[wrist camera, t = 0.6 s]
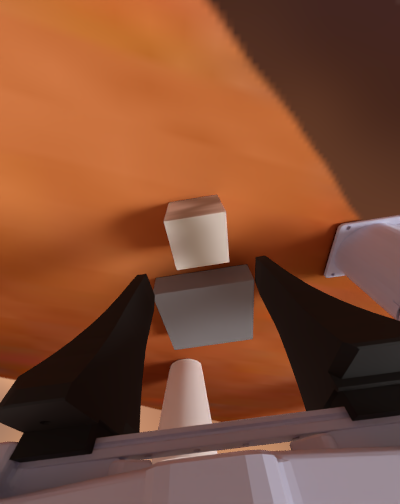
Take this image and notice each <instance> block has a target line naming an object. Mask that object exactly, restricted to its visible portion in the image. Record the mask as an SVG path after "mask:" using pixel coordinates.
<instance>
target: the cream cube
mask: <svg viewBox="0 0 400 504" xmlns="http://www.w3.org/2000/svg"><path fill="white" fill-rule="evenodd" d="M164 225H165V229H166V232H167V236H168V240H169V243H170V247H171V250H172V254H173V258H174V261H175V265H176V269H177V270H181V269H188V268H194V267H201V266H208V265H214V264H221V263H227V262H229V250H228V235H227V221H226V211H225V209H224V207H223V205H222V203H221V201H220V199H219V197H218V195H211V196H205V197H199V198H193V199H187V200H181V201H175V202H169V204H168V207H167V211H166V215H165V218H164Z"/></svg>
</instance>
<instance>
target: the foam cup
mask: <svg viewBox="0 0 400 504" xmlns="http://www.w3.org/2000/svg"><path fill="white" fill-rule="evenodd" d="M211 423H212V421H211V416H210V410H209V405H208V399H207V394H206V388H205V383H204V377H203V371H202V367H201V363H199V362H198V361H196V360H193V359H182V360H177V361H176V362H174V363H172V365H171V367H170V371H169V376H168V381H167V386H166V391H165V396H164V402H163V407H162V412H161V417H160V423H159V427H158V430H164V429H172V428H180V427H187V426H195V425H203V424H211ZM212 454H217V451H209V452H201V453H192V454H184V455H176V456H168V457H160V458H153V460H152V464H155V463H157V462H161V461H166V460H172V459H180V458H188V457H196V456H204V455H212Z"/></svg>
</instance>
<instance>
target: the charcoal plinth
mask: <svg viewBox="0 0 400 504" xmlns="http://www.w3.org/2000/svg"><path fill="white" fill-rule="evenodd" d="M153 292H154V295H155V303H156V305H157V308H158V310H159V313H160V315H161V318H162V320H163V323H164V325H165V327H166V330H167V332H168V335H169V337H170V340H171V342H172V344H173V347H174V349H175V350H177V349H184V348H191V347H198V346H206V345H213V344H220V343H227V342H234V341H242V340H249V339H253V307H254V278H253V276H252V274H251V272H250V270H249V268H248V265H247V264H246V265H239V266H233V267H226V268H220V269H213V270H206V271H200V272H193V273H187V274H180V275H173V276H167V277H160V278H156V280H155V285H154V289H153Z"/></svg>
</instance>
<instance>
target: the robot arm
mask: <svg viewBox="0 0 400 504" xmlns="http://www.w3.org/2000/svg"><path fill="white" fill-rule="evenodd" d="M343 275H346V276H347V277H348V278H349V279H351V280H352V281H353V282H354V283H355V284H356V285H357V286H358V287H360V288H361V289H362V290H363V291H364V292H365V293H366V294H368V295H369V296H370V297H371V298H372V299H373V300H374V301H375V302H377V303H378V304H379V305H380V306H381V307H382V308H383V309H385V310H386V311H387V312H388V313H389V314H390V315H391V316H392V317H394V318H395V319H396V320H395V319H392V318H388V317H385V316H382V315H379V314H376V313H373V312H370V311H367V310H364V309H362V308H359V307H356V306H354V305H351V304H349V303H346V302H344V301H341V300H339V299H337V298H334V297H332V296H330V295H328V294H326V293H324V292H322V291H320V290H318V289H316V288H314V287H312V286H310V285H308V284H307V283H305V282H303V281H302V280H300V279H298V278H297V277H295V276H293V275H292V274H290V273H289V272H287V271H286V270H284V269H283V268H282V267H280V266H279V265H277V264H276V263H275V262H273V261H272V260H271V259H269V258H268V257H266V256H260V257H256V266H255V282H256V285H257V288H258V291H259V293H260V296H261V298H262V300H263V302H264V304H265V306H266V308H267V310H268V312H269V314H270V315H271V317H272V319H273V321H274V323H275V325H276V328H277V330H278V332H279V335H280V337H281V340H282V342H283V345H284V348H285V350H286V353H287V356H288V358H289V361H290V364H291V367H292V369H293V372H294V375H295V378H296V381H297V384H298V387H299V390H300V393H301V396H302V399H303V402H304V405H305V409H306V411H305V412H297V413H289V414H282V415H274V416H266V417H258V418H250V419H242V420H235V421H227V422H219V423H211V424H203V425H195V426H187V427H180V428H172V429H164V430H156V431H148V432H141V433H139V428H140V406H141V391H142V378H143V368H144V359H145V350H146V344H147V339H148V335H149V330H150V326H151V321H152V317H153V312H154V303H155V295H154V292H153V290H152V287H151V285H150V282H149V280H148V277H147V275H146V274H142V275H137V276H136V277H135V278H134V279H133V281H132V282H131V283H130V284H129V285H128V287H127V288H126V289H125V290H124V291H123V292H122V294H121V295H120V296H119V297H118V298H117V299H116V300H115V301H114V302H113V304H112V305H111V306H110V307H109V308H108V309H107V310H106V311H105V312H104V313H103V314H102V315H101V316H100V317H99V318H98V319H97V320H96V321H95V322H93V323H92V324H91V325H90V326H89V327H88V328H87V329H85V330H84V331H83V332H82V333H80V334H79V335H78V336H77V337H76V338H74V339H73V340H72V341H71V342H69V343H68V344H67V345H65V346H64V347H63V348H61V349H60V350H58V351H57V352H56V353H54V354H53V355H51V356H50V357H48V358H47V359H45V360H44V361H42V362H41V363H39V364H38V365H36V366H35V367H33V368H32V369H30V370H28V371H27V372H25V373H24V374H22V375H21V376H19V377H18V378H17V380H16V381H15V383H14V384H13V385H12V387H11V388H10V390H9V391H8V393H7V394H6V395H5V397H4V398H3V400H2V401H1V403H0V423H2V424H5V425H7V426H9V427H12V428H14V429H16V430H18V431H21V432H23V435H22V437H21V439H20V441H19V442H3V443H0V504H400V215H395V216H388V217H382V218H376V219H369V220H363V221H356V222H350V223H343V224H341V225H339V226H338V228H337V232H336V235H335V238H334V242H333V245H332V248H331V252H330V255H329V259H328V262H327V265H326V269H325V272H324V276H325V277H326V278H330V277H337V276H343ZM290 441H292V442H291V443H290V447H291V450H289V451H266V450H246V451H237V452H229V453H221V454H212V455H204V456H196V457H188V458H180V459H172V460H166V461H161V462H157V463H155V464H152V462H151V461H150V460H144V459H152V458H160V457H168V456H176V455H184V454H192V453H201V452H209V451H217V450H225V449H232V448H241V447H249V446H257V445H266V444H274V443H282V442H290Z"/></svg>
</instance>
